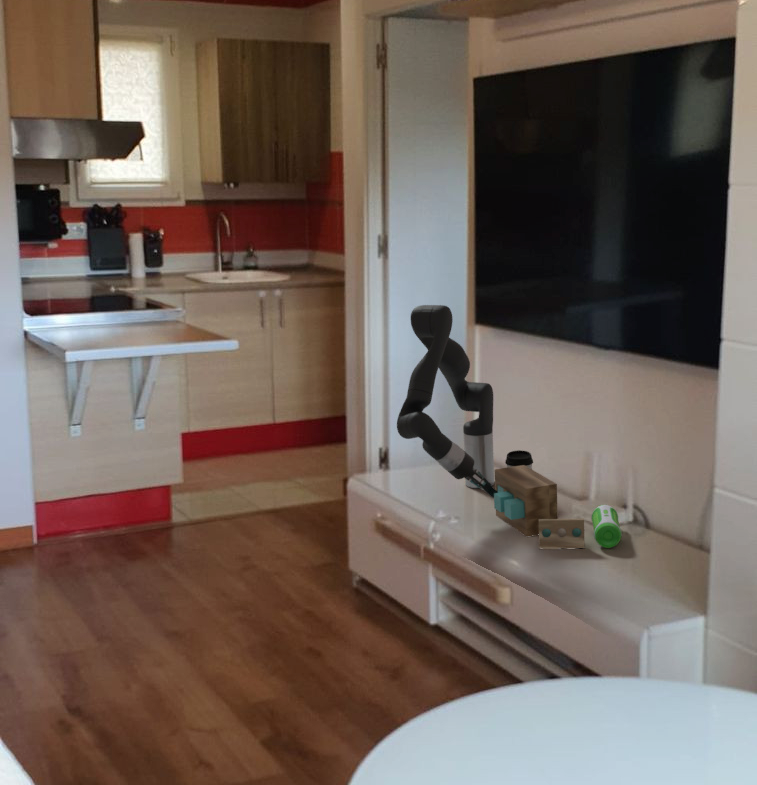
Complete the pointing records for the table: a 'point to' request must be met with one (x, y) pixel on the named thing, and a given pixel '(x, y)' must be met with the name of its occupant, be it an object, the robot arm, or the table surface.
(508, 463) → the coffee cup
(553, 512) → the button panel
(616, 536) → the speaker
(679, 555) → the table surface
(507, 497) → the button middle
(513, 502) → the button
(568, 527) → the board
